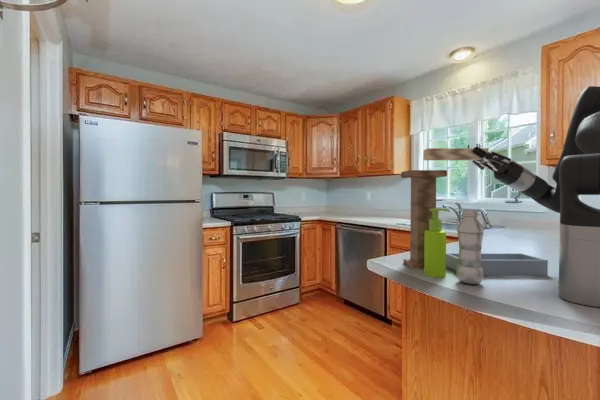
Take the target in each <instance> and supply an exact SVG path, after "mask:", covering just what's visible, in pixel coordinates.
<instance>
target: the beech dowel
mask: <svg viewBox="0 0 600 400" xmlns="http://www.w3.org/2000/svg"><path fill="white" fill-rule="evenodd" d="M479 148H480V147H479ZM473 149H474V148H472V147H471V148H469V147H468V148H463V147H462V148H449V147H448V148H447V147H446V148H445V147H443V148H441V147H440V148H437V147H436V148H435V147H433V148H426V149H423V161H473V160H484V159H483V158H481V157H479V156H477V155H476V154H474V153H473V152H472V151H473ZM480 149H482V150H484V151H485V152H489V148H487V147H486V148H483V147H482V148H480Z"/></svg>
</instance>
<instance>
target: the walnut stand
mask: <svg viewBox="0 0 600 400" xmlns="http://www.w3.org/2000/svg"><path fill="white" fill-rule="evenodd" d="M446 177H448V170H447V169H445V170H444V169H441V170H440V169H437V170H436V169H435V170H433V169H432V170H431V169H430V170H429V169H428V170H426V169H425V170H424V169H423V170H422V169H414V170H413V169H409V170H405V171H402V172H401V175H400V178H401V179H410V231H409V232H410V248H409V249H410V251H409V253H410V255H409V257H410V258H406V259H405V258H403V264H404V263H405V264H406V265H405V264H404V265H405V266H407V267H408V266H409V268H410V269H411V268H412V269H411V270H424V245H425V231H426V230H429V220H430V219H431V218H432V211H430V209H434V208H437V179H439V178H446Z"/></svg>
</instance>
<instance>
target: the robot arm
mask: <svg viewBox="0 0 600 400" xmlns="http://www.w3.org/2000/svg"><path fill="white" fill-rule="evenodd" d="M566 132H567V133H566V136H565V140H564V144H563V147H562V151H561V155H560V156H559V159H558V161H557V163H556V166H555V168H554V171H553V173H552V180H553V181H554V182H555V183H556V186H555V187H554V186H552V185H550V184H549V183H548V182H547V181H546V180H545V179H543V178H541V177H540V176H538V175H537V174H535V173H533V172H532V171H531V170H529V169H528V168H526V167H525V166H524V165H521V164H519V163H518V162H516V161H514V160H512V158H510V157H508V156H506V155H502V154H500V153H497V152H495V151H491V152H485V151H484V150H482V149H480V147H478V146H475V147H474V149H473V151H472V152H473V153H474V154H476V155H477V156H479V157H481V158H483V159H484V160H471V161H472V164H474V165H475V166H477V168H479V169H480V170H483V171H484V169H486V170H487V171H490V172H493V177H494V179H495V180H496V181H498V182H501V183H502V184H504V185H505V186H508V187H509V188H511V189H513V190H516V191H518V192H519V193H521V194H522V195H524V196H526V197H528V198H530V199H532V200H533V201H535V202H536V203H537V204H539V205H541V206H542V207H545V208H546V209H548V210H550V211H553V212H555V213H558V214H559V248H558V250H559V251H558V253H559V254H558V256H559V257H558V297H560V298H561V299H563V300H566V301H569V302H570V303H573V304H574V303H576V304H578V305H584V306H589V307H595V308H600V208H597V207H593V206H591V205H589V204H586V203H585V202H583V201H582V200H581V199H580V198H579V196H599V195H600V86H595V85H594V86H593V85H591V86H587V87H585V88H584V89H583V90H582V91H581V93H580V95H579V96H578V99H577V101H576V103H575V106H574V108H573V112H572V115H571V118H570V121H569V125H568V129H567V131H566Z"/></svg>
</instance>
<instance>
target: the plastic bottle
mask: <svg viewBox="0 0 600 400" xmlns="http://www.w3.org/2000/svg"><path fill="white" fill-rule="evenodd" d="M462 217H463V219H462V220H461V221H460V222H459V224H458V225H457V226H456V233H457V238H458V239H457V240H458V253H459V259H458V265H457V271H456V272H455V273H456V278H457V279H458V281H459V282H461V283H465V284H469V285H478V284H479V285H480V284H481V283H482V282H483V280H484V276H485V275H483V268H482V261H481V253H482V243H483V238H484V231H485V230H484V226H483V224H482V223H481V222H480V220H479V219H478V217H479V210H478V209H462Z"/></svg>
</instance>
